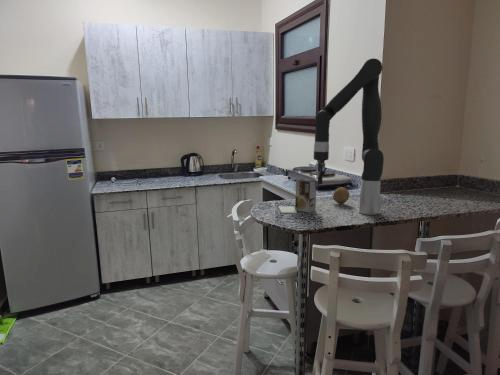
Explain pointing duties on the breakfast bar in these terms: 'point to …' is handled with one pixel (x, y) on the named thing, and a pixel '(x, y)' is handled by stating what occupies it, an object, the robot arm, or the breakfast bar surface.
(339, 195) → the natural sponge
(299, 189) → the coffee box
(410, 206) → the breakfast bar surface
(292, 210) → the mat
